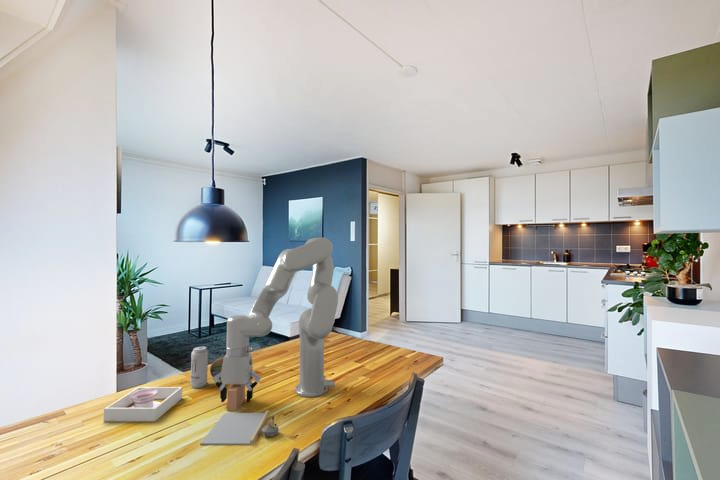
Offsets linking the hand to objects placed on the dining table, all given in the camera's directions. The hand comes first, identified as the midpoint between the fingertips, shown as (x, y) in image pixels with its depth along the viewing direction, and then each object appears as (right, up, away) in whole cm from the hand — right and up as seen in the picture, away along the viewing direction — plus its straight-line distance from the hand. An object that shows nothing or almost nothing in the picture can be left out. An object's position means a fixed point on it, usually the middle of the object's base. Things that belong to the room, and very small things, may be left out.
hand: (236, 400), depth 114 cm
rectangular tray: (-30, -1, -3) cm, 30 cm away
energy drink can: (-21, -2, +16) cm, 26 cm away
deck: (0, -2, 0) cm, 2 cm away
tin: (-13, -3, +26) cm, 29 cm away
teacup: (-30, -2, -5) cm, 30 cm away
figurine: (+17, -1, -18) cm, 25 cm away
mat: (+6, -1, -15) cm, 16 cm away
